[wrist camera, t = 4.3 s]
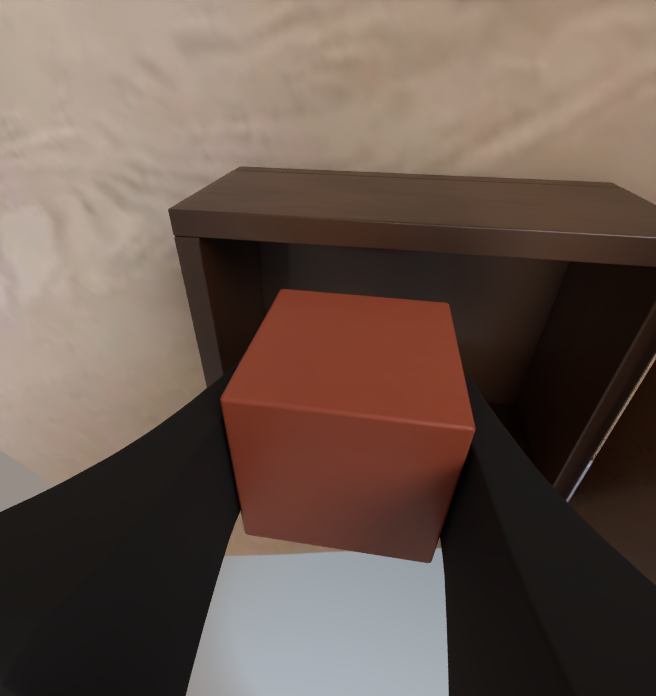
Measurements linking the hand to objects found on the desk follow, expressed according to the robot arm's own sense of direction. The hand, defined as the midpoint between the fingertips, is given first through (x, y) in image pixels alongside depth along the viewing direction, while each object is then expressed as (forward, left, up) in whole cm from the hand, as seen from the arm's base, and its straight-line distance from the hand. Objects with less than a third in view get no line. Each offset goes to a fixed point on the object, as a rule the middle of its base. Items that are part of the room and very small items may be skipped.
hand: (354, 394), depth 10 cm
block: (0, 0, -1) cm, 1 cm away
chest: (-2, -1, -9) cm, 10 cm away
